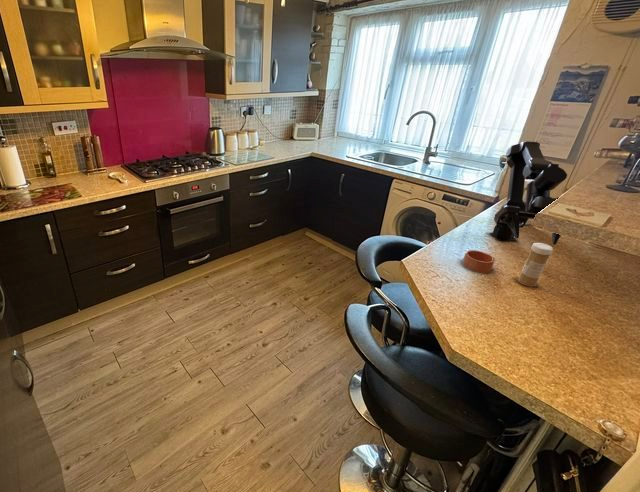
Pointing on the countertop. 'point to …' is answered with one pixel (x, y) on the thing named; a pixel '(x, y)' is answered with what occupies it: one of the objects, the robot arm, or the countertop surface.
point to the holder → (478, 261)
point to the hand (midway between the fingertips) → (535, 241)
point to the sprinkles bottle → (535, 264)
